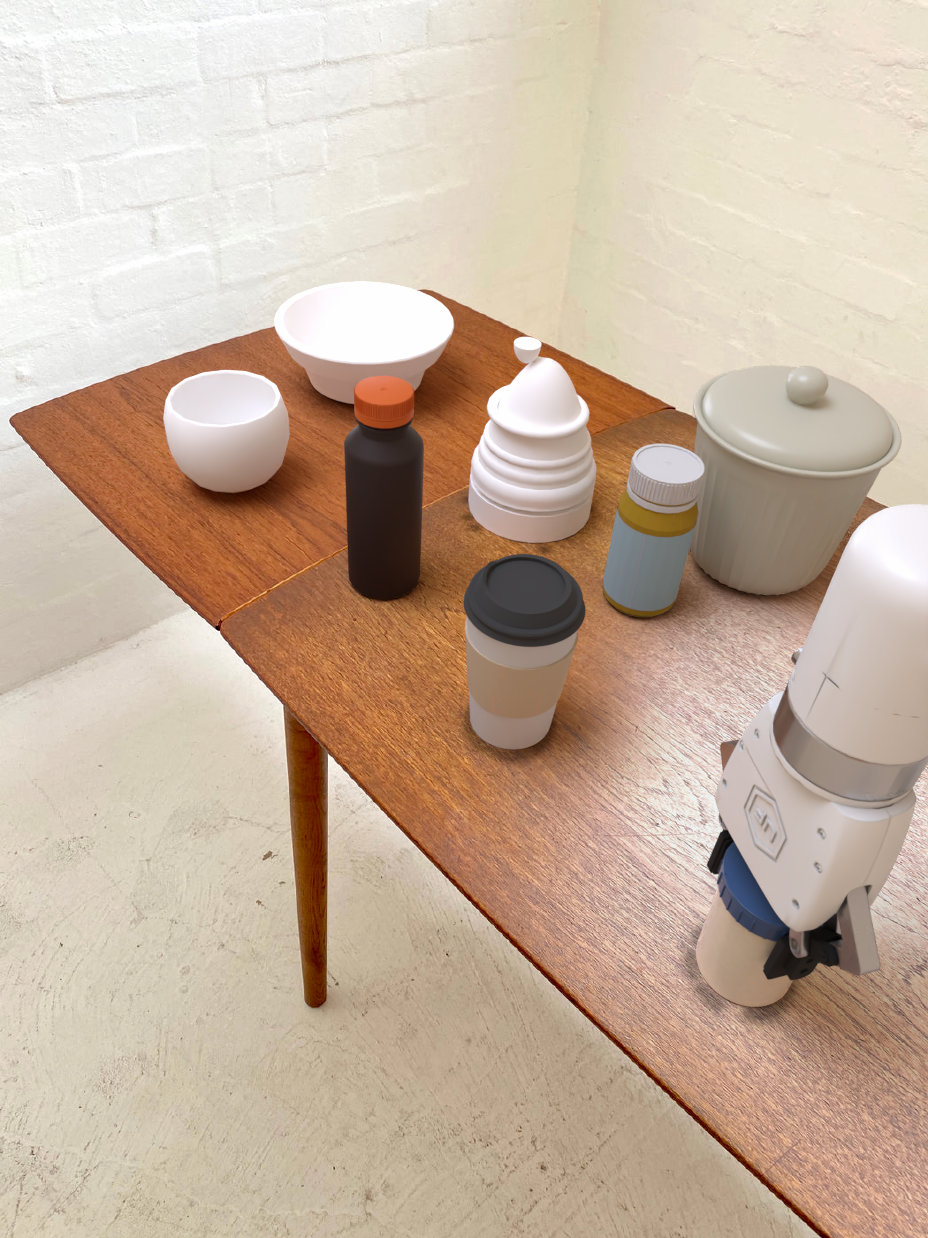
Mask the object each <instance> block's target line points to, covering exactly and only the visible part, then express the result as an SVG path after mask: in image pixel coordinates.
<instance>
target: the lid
mask: <svg viewBox="0 0 928 1238" xmlns="http://www.w3.org/2000/svg"><path fill="white" fill-rule="evenodd" d="M718 872H719V874H717V880H716V885H717V887H718V889H719V893H720V895H719V897H721V899H722V901H723V903H724V905H725V907H726V910H728V912H729V913H730V914H731V915H732V917H733V918H734V919H735V920H736V922H738V923H739V924H741V925H742V926H743V927H744V928H746V929H747V930H748V931H749V932H752V933H754V934H756V935H758V936H760V937H762V938H764V939H768V940H771V941H775V942H777V941H778V939H779V938H780V937H782V936H785V935H789V931H790V928H789V927H788V926H787V925H786V924H785V923H784V922H783V921H782V920H781V919H780V918H779V917H778V915H777V914H776V913H775V911H774V910H773V908H772V906H771V905H770V903H769V901H768V900H767V898H766V896H765V895H764V893H763V891H762V890H761V888H760V886H759V884H758V883H757V881H756V879H755V877H754V876H753V874H752V872H751V870H750V869H749V867H748V865H747V863H746V862H745V860H744V858H743V856H742V855H741V853H740V851H739V849H738V847H737V846H736V844H735V842H733V843H732V844H731V845H730V846H729V848H728V849H727V850H726V852H725V855H724V858H723V860H722V861H721V863H720V866H719V869H718ZM820 926H822V927H823V924H822V925H820Z"/></svg>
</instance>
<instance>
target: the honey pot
mask: <svg viewBox="0 0 928 1238" xmlns="http://www.w3.org/2000/svg"><path fill="white" fill-rule="evenodd" d="M541 349H542V342H541V341H540V340H539V339H538V338H536V337H531V336H521V337H518V338H515V339H514V341H513V350H514V351H513V352H514V354H515V356H516V359H518V361H520V362H521V363H523V364H526V365H525V367H523V368H522V369H521V370H520V372H519V373H518V374H517V375H516V376H515V378H514V379H513V380H512V381H511V383H510V384H507V385H505V386H502V387H500V388H499V389H496V390H494V392H493V394H492V395H490V397H489V398H488V400H487V403H486V404H487V405H486V410H487V415H488V417H489V420H488V422H486V424H485V426H484V430H483V433H482V435H481V436H480V439H479V443H478V444H477V445H476V447H475V448H474V450H473V454H472V456H471V461H470V465H471V466H470V471H469V472H470V474H469V485H468V501H467V502H468V508H469V512H470V514H471V516H473V517H472V518H473V519H474V520H475V521H476V522H477V523H478V524H479V525H480V526H482V527H483V528H484V529H485V530H487V531H489V532H490V533H493V534H495V535H496V536H499V537H502V538H505V539H507V540H511V541H514V542H521V543H528V544H539V543H540V544H541V543H542V544H543V543H544V544H545V543H551V542H557V541H561V540H565V539H567V538H570V537H572V536H573V535H575V534H577V533H578V532H579V531H580V530H582V529H583V528H584V527H585V526H586V524H587V522H588V520H589V519H590V515H591V511H592V510H591V509H592V503H593V498H594V490H595V485H596V481H597V480H596V479H597V472H598V470H597V469H598V468H597V464H596V460H595V457H594V449H593V447H592V437H591V434H590V431H589V429H588V428H587V424H588V422H589V421H590V408H589V406H588V403H587V402H586V401H585V400H584V398H582V396H580V395H579V394H578V393H577V391H576V388H575V386H574V384H573V383H574V382H573V381H572V379H571V377H570V375H569V374H568V372H567V371H566V370H565V368H564V367H563V366H562V365H561V364H560V363H559V362H557V361H556V360H554V359H552V358H551V357H543V356H539V355H540V352H541Z"/></svg>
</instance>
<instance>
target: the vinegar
mask: <svg viewBox="0 0 928 1238" xmlns="http://www.w3.org/2000/svg"><path fill="white" fill-rule="evenodd" d="M353 405H354V406H353V407H354V409H353V411H354V417H355V419H354V420H355V422H356V423H357V425H356V426H355V427H354V428H352V429H351V430H350V431H349V432H348V433H347V435H346V438H345V439H344V442H343V449H344V451H343V452H344V453H343V454H344V482H345V483H344V484H345V509H346V510H345V511H346V513H345V514H346V539H347V540H346V541H347V542H346V543H347V571H348V572H347V573H348V580H349V582H350V584H351V587H353V589H354V590H355V591H357V592H358V593H359V594H361V595H362V596H366V597H368V598H371V599H376V600H393V599H397V598H400V597H403V596H405V595H407V594H409V593H411V592H412V591H413V590H414V589H415V588H416V587H417V586H418V583H419V580H420V577H421V564H422V563H421V562H422V561H421V559H422V557H421V556H422V529H423V525H422V524H423V498H424V497H423V496H424V495H423V494H424V493H423V492H424V466H425V465H424V462H425V460H424V459H425V445H424V440H423V437H422V436H421V434H419V433H418V431H417V430H416V429H415V428H414V427H413V426H411V425H412V423H413V421H414V415H415V391H414V389H413V387H412V386H411V385H410V384H409V383H408V382H406V381H405V380H403V379H400V378H397V377H392V376H374V377H369V378H366V379H364V380H361V381H360V382H358V384H357V385H356V386H355V387H354V404H353Z"/></svg>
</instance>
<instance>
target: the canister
mask: <svg viewBox="0 0 928 1238" xmlns="http://www.w3.org/2000/svg"><path fill="white" fill-rule="evenodd" d="M692 408H693V414H694V417H695V420H696V422H697V425H696V432H695V438H694V439H695V440H694V446H693V447H694V448H693V453H694V454H696V455H697V456H698V457H699V458H700V459H701V460H702V462H703V464H704V470H705V471H704V472H705V473H704V476H703V480H702V484H701V488H700V492H699V495H698V499H697V507H698V517H697V522H696V526H695V530H694V533H693V537H692V541H691V545H690V548H689V552H690V553H691V555H692V558H693V560H694V561H695V562H696V563H697V565H698V566H699V568H701V569H702V570H703V572H704V573H705V574H707V575H709V576H710V577H711V578H712V579H713V580H716V581H718V582H719V584H722V585H726V586H727V587H728V588H733V589H735V590H737V591H739V592H740V591H741V592H745V593H746V594H755V595H757V596H759V595H765V596H770V595H774V596H779V595H781V594H789V593H791V592H797V591H798V590H800V589H803V588H805V587H807V586H808V585H809V584H810V583H811V582H813V581H814V580H816V579H817V578H818V576H820V574H821V573H822V572H823V571H824V569H825V568H826V567H827V565H828V564H829V563H830V561H831V559H832V557H833V556H834V554H835V552H836V551H837V549H838V547H839V546H840V545H841V542H842V540H843V539H844V537H845V535H846V534H847V532H848V530H849V529H850V527H851V525H852V523H853V522H854V520H855V518H856V516H857V515H858V512H859V510H860V509H861V507H862V505H863V503H864V502H865V500H866V498H867V496H868V494H869V492H870V491H871V489H872V487H873V485H874V483H875V481H876V480H877V478H878V476H879V474H880V473H881V470H882V469H884V467H886V466H887V465H889V464H890V463H891V462H893V460H894V459H895V458H896V457H897V455H898V454H899V453H900V450H901V447H902V441H903V439H902V433H901V430H900V427H899V425H898V423H897V421H896V420H895V418H894V417H893V416H892V414H891V413H890V412H889V411H888V410H887V409H886V408H885V407H884V406H882V405H881V404H880V403H879V402H878V401H876V400H875V398H873V397H872V396H870V395H869V394H868V393H866V392H865V391H864V390H862V389H860V388H859V387H857V386H855V385H854V384H851V383H849V382H848V381H845V380H843V379H841V378H838V377H835V376H833V375H830V374H828V373H825V372H824V371H823V370H822V369H820V368H818V367H816V366H812V365H801V366H798V367H796V366H789V365H772V364H771V365H756V366H749V367H744V368H740V369H736V370H735V369H734V370H730V371H727V372H724V373H721V374H719V375H716V376H714V377H712V378H710V379H709V380H707V381H706V382H704V384H702V385H701V386H700V387H699V388H698V390H697V392H696V393H695V395H694V399H693V404H692Z"/></svg>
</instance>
